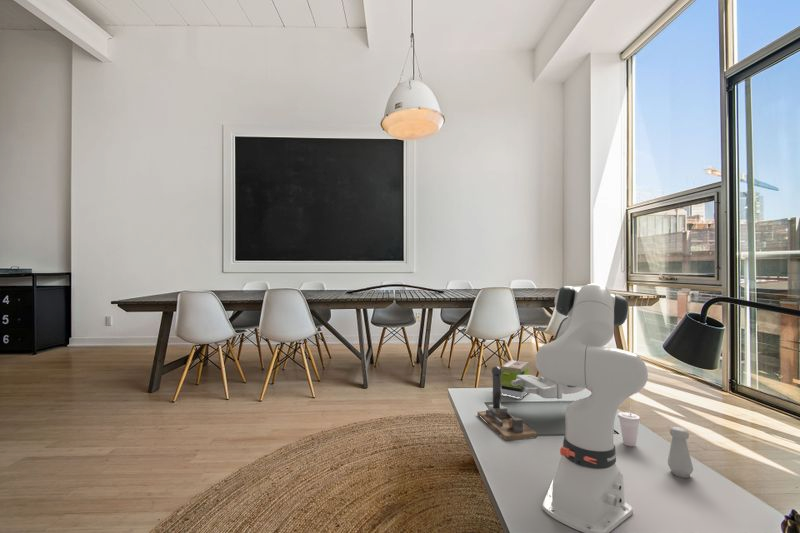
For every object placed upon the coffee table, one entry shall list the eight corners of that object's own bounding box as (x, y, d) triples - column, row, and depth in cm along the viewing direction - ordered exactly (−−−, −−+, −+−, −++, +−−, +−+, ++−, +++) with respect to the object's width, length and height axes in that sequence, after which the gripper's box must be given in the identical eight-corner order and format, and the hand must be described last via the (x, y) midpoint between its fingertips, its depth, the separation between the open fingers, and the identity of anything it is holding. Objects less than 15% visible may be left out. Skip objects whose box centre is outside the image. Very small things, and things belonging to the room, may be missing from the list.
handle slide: (488, 412, 143) (487, 365, 144) (499, 411, 144) (499, 364, 145) (495, 418, 137) (494, 369, 138) (507, 417, 138) (506, 368, 139)
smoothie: (644, 449, 116) (643, 406, 117) (623, 447, 117) (622, 405, 118) (635, 440, 122) (634, 399, 123) (615, 438, 124) (614, 398, 124)
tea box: (510, 388, 181) (510, 359, 181) (531, 391, 175) (530, 361, 175) (500, 396, 168) (500, 365, 169) (521, 400, 163) (521, 368, 163)
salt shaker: (694, 473, 102) (693, 428, 102) (692, 482, 97) (691, 434, 98) (669, 466, 106) (667, 422, 106) (666, 474, 101) (665, 428, 102)
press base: (477, 415, 145) (477, 401, 145) (504, 412, 148) (503, 398, 148) (506, 440, 122) (506, 423, 123) (536, 437, 125) (536, 420, 125)
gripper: (533, 370, 157) (505, 372, 154) (564, 383, 137) (532, 386, 134) (533, 384, 157) (505, 386, 154) (564, 400, 137) (533, 403, 134)
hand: (518, 386), depth 144 cm, fingers open, 8 cm apart
